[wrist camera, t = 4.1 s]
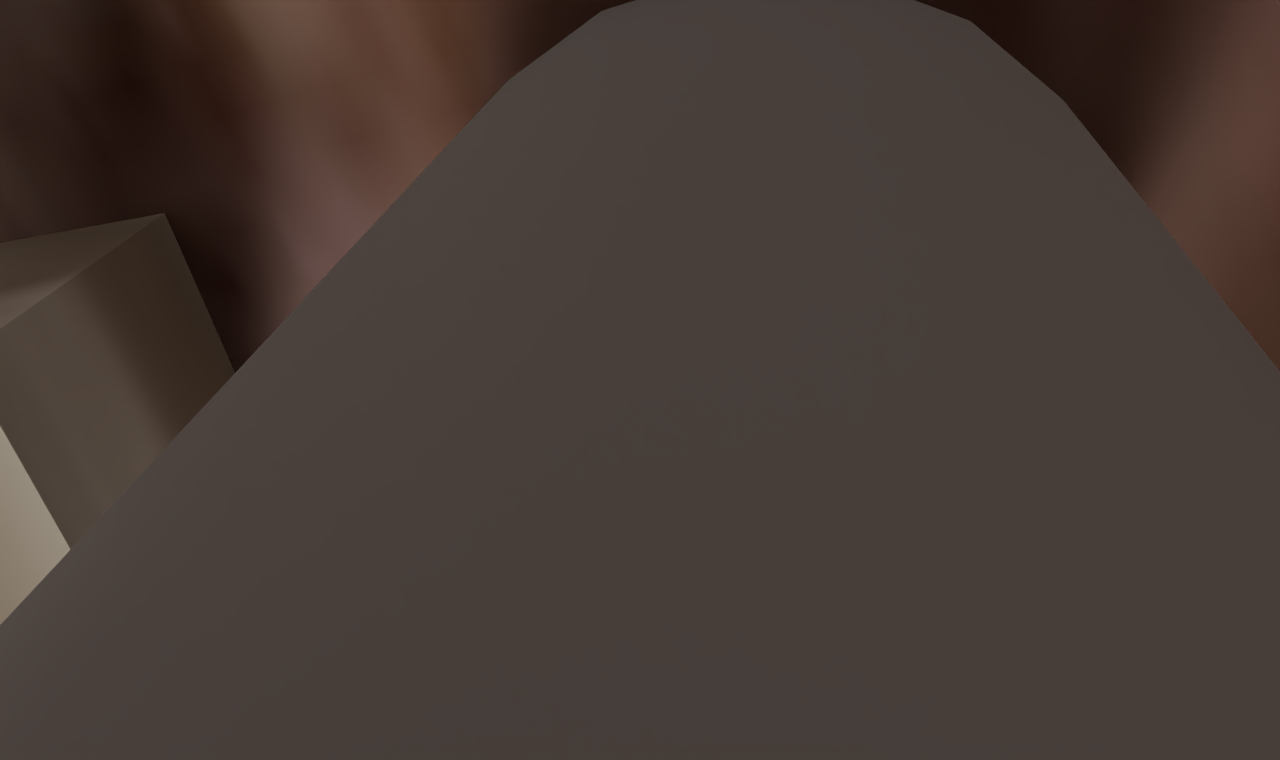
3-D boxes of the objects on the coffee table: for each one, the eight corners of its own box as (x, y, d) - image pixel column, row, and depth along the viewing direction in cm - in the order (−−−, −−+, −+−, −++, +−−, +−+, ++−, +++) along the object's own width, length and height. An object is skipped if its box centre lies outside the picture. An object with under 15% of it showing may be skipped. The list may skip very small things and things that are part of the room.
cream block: (168, 210, 14) (-39, 356, 10) (280, 468, 16) (136, 665, 12) (-91, 257, 15) (-362, 406, 11) (45, 497, 17) (-153, 688, 13)
